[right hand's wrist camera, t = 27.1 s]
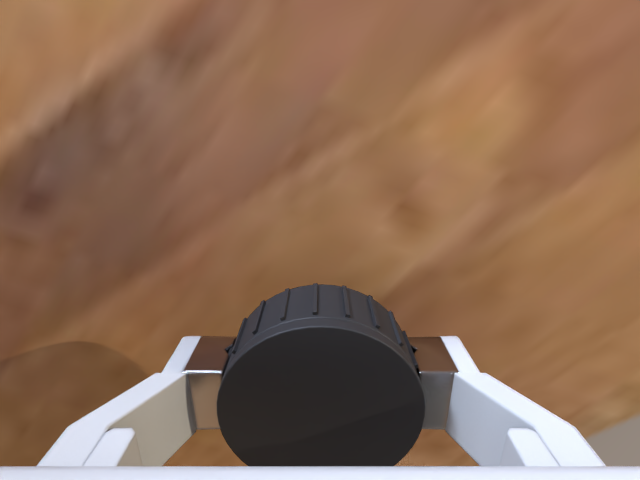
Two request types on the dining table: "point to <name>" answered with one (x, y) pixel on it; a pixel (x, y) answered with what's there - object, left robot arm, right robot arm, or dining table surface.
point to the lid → (321, 383)
